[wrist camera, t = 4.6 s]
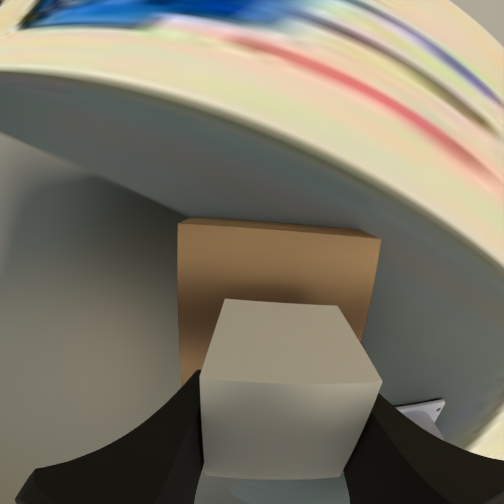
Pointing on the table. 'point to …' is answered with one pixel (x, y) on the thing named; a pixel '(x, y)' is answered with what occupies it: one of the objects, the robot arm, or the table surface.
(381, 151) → the table surface
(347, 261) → the walnut block
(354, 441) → the grey cube
